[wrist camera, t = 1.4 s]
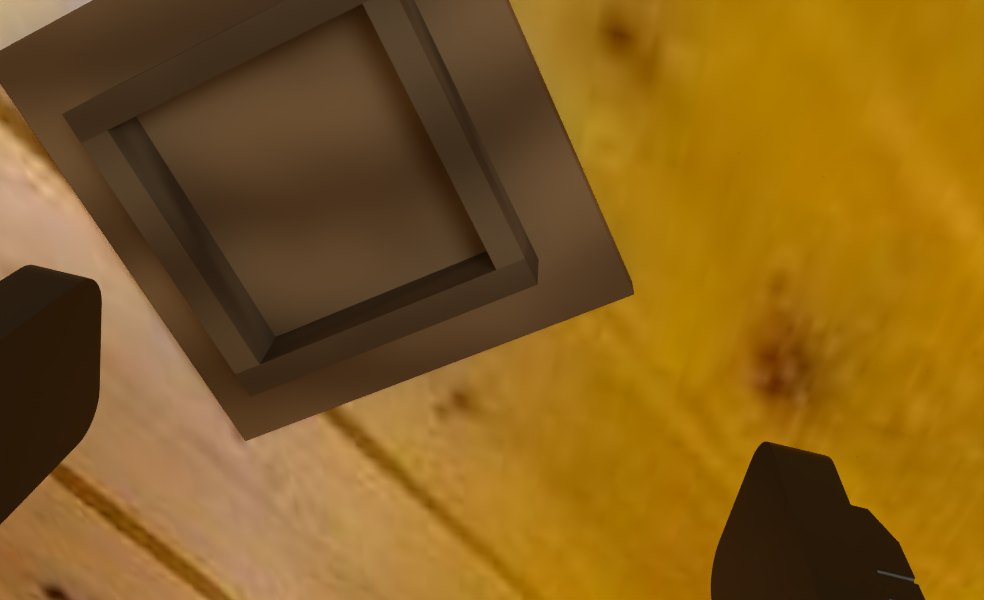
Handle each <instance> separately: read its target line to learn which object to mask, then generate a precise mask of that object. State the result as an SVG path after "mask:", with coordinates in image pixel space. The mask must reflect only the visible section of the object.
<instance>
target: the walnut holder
mask: <svg viewBox="0 0 984 600" xmlns="http://www.w3.org/2000/svg"><path fill="white" fill-rule="evenodd" d="M0 84H1V85H2V87H3V88H4V89H5V91H6V92H7V94H8V95H9V97H10V98H11V100H12V101H13V103H14V104H15V106H16V107H17V108H18V110H19V111H20V113H21V114H22V116H23V117H24V119H25V120H26V122H27V123H28V124H29V126H30V127H31V129H32V130H33V132H34V133H35V135H36V136H37V138H38V139H39V141H40V142H41V143H42V145H43V146H44V148H45V149H46V151H47V152H48V154H49V155H50V157H51V158H52V159H53V161H54V162H55V164H56V165H57V167H58V168H59V170H60V171H61V173H62V174H63V176H64V177H65V178H66V180H67V181H68V183H69V184H70V186H71V187H72V189H73V190H74V192H75V193H76V194H77V196H78V197H79V199H80V200H81V202H82V203H83V205H84V206H85V208H86V209H87V211H88V212H89V213H90V215H91V216H92V218H93V219H94V221H95V222H96V224H97V225H98V227H99V228H100V229H101V231H102V232H103V234H104V235H105V237H106V238H107V240H108V241H109V243H110V244H111V246H112V247H113V248H114V250H115V251H116V253H117V254H118V256H119V257H120V259H121V260H122V262H123V263H124V264H125V266H126V267H127V269H128V270H129V272H130V273H131V275H132V276H133V278H134V279H135V281H136V282H137V283H138V285H139V286H140V288H141V289H142V291H143V292H144V294H145V295H146V297H147V298H148V299H149V301H150V302H151V304H152V305H153V307H154V308H155V310H156V311H157V313H158V314H159V316H160V317H161V318H162V320H163V321H164V323H165V324H166V326H167V327H168V329H169V330H170V332H171V333H172V335H173V336H174V337H175V339H176V340H177V342H178V343H179V345H180V346H181V348H182V349H183V351H184V352H185V353H186V355H187V356H188V358H189V359H190V361H191V362H192V364H193V365H194V367H195V368H196V370H197V371H198V372H199V374H200V375H201V377H202V378H203V380H204V381H205V383H206V384H207V386H208V387H209V388H210V390H211V391H212V393H213V394H214V396H215V397H216V399H217V400H218V402H219V403H220V405H221V406H222V407H223V409H224V410H225V412H226V413H227V415H228V416H229V418H230V419H231V421H232V422H233V423H234V425H235V426H236V428H237V429H238V431H239V432H240V434H241V435H242V437H243V438H244V440H245V441H247V440H250V439H252V438H255V437H258V436H260V435H263V434H265V433H268V432H271V431H273V430H276V429H279V428H281V427H284V426H287V425H289V424H292V423H295V422H297V421H300V420H303V419H305V418H308V417H310V416H313V415H316V414H318V413H321V412H324V411H326V410H329V409H332V408H334V407H337V406H340V405H342V404H345V403H348V402H350V401H353V400H355V399H358V398H361V397H363V396H366V395H369V394H371V393H374V392H377V391H379V390H382V389H385V388H387V387H390V386H393V385H395V384H398V383H400V382H403V381H406V380H408V379H411V378H414V377H416V376H419V375H422V374H424V373H427V372H430V371H432V370H435V369H437V368H440V367H443V366H445V365H448V364H451V363H453V362H456V361H459V360H461V359H464V358H467V357H469V356H472V355H475V354H477V353H480V352H482V351H485V350H488V349H490V348H493V347H496V346H498V345H501V344H504V343H506V342H509V341H512V340H514V339H517V338H520V337H522V336H525V335H527V334H530V333H533V332H535V331H538V330H541V329H543V328H546V327H549V326H551V325H554V324H557V323H559V322H562V321H565V320H567V319H570V318H572V317H575V316H578V315H580V314H583V313H586V312H588V311H591V310H594V309H596V308H599V307H602V306H604V305H607V304H610V303H612V302H615V301H617V300H620V299H623V298H625V297H628V296H631V295H633V294H634V290H633V285H632V281H631V278H630V276H629V274H628V272H627V269H626V267H625V265H624V262H623V260H622V258H621V256H620V253H619V251H618V249H617V246H616V244H615V242H614V240H613V237H612V235H611V233H610V231H609V228H608V226H607V224H606V221H605V219H604V217H603V215H602V212H601V210H600V208H599V205H598V203H597V201H596V199H595V196H594V194H593V192H592V189H591V187H590V185H589V183H588V180H587V178H586V176H585V173H584V171H583V169H582V167H581V164H580V162H579V160H578V157H577V155H576V153H575V151H574V148H573V146H572V144H571V141H570V139H569V137H568V135H567V132H566V130H565V128H564V125H563V123H562V121H561V119H560V116H559V114H558V112H557V109H556V107H555V105H554V103H553V100H552V98H551V96H550V94H549V91H548V89H547V87H546V84H545V82H544V80H543V78H542V75H541V73H540V71H539V68H538V66H537V64H536V62H535V59H534V57H533V55H532V52H531V50H530V48H529V46H528V43H527V41H526V39H525V36H524V34H523V32H522V30H521V27H520V25H519V23H518V20H517V18H516V16H515V14H514V11H513V9H512V7H511V4H510V2H509V0H92V1H91V2H89V3H87V4H85V5H83V6H81V7H80V8H78V9H76V10H74V11H72V12H70V13H69V14H67V15H65V16H63V17H61V18H59V19H57V20H56V21H54V22H52V23H50V24H48V25H46V26H45V27H43V28H41V29H39V30H37V31H35V32H34V33H32V34H30V35H28V36H26V37H24V38H22V39H21V40H19V41H17V42H15V43H13V44H11V45H10V46H8V47H6V48H4V49H2V50H0Z"/></svg>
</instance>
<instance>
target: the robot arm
mask: <svg viewBox="0 0 984 600" xmlns="http://www.w3.org/2000/svg"><path fill="white" fill-rule="evenodd" d="M101 308H102V299H101V291H100V288H99V286H98V284H97V283H96V282H95V281H94V280H92V279H89V278H85V277H81V276H77V275H73V274H68V273H64V272H60V271H56V270H52V269H47V268H43V267H39V266H35V265H27V266H24V267H22V268H20V269H19V270H17V271H15V272H14V273H12V274H11V275H9V276H7V277H6V278H4V279H3V280H1V281H0V524H1V523H2V522H3V521H4V520H5V519H6V518H7V517H8V516H9V515H10V514H11V513H12V512H13V511H14V510H15V509H16V508H17V507H18V506H19V505H20V504H21V503H22V502H23V501H24V500H25V499H26V498H27V496H28V495H29V494H30V493H31V492H32V491H33V490H34V489H35V488H36V487H37V486H38V485H39V484H40V483H41V482H42V481H43V480H44V479H45V478H46V477H47V476H48V475H49V474H50V473H51V472H52V471H53V470H54V469H55V468H56V467H57V465H58V464H59V463H60V462H61V461H62V460H63V459H64V458H65V457H66V456H67V455H68V454H69V453H70V452H71V451H72V450H73V449H74V448H75V447H76V446H77V445H78V444H79V443H80V441H81V440H82V439H83V437H84V436H85V434H86V433H87V431H88V429H89V427H90V425H91V423H92V420H93V418H94V415H95V412H96V409H97V404H98V399H99V390H100V349H101ZM914 579H915V577H914V574H913V572H912V570H911V568H910V566H909V563H908V561H907V559H906V557H905V555H904V553H903V550H902V548H901V546H900V544H899V542H898V541H897V540H896V539H895V538H894V537H893V536H892V535H891V534H890V533H889V532H888V530H887V529H886V528H885V527H884V526H883V525H882V524H881V523H880V522H879V521H878V520H877V519H876V518H875V516H874V515H873V514H872V513H871V512H870V511H869V510H868V509H865V508H861V507H857V506H853V505H851V504H850V502H849V500H848V497H847V495H846V492H845V490H844V487H843V485H842V482H841V480H840V477H839V475H838V473H837V470H836V468H835V465H834V463H833V461H832V459H831V458H830V457H828V456H825V455H821V454H817V453H813V452H808V451H804V450H800V449H796V448H792V447H787V446H783V445H779V444H775V443H771V442H763V443H762V444H761V445H760V446H759V447H758V448H757V450H756V451H755V453H754V455H753V458H752V460H751V462H750V465H749V467H748V470H747V472H746V475H745V477H744V480H743V483H742V485H741V488H740V490H739V493H738V495H737V498H736V500H735V503H734V505H733V508H732V510H731V513H730V515H729V518H728V521H727V523H726V526H725V528H724V531H723V533H722V536H721V538H720V541H719V544H718V546H717V550H716V553H715V558H714V562H713V568H712V576H711V599H712V600H925V598H924V596H923V594H922V592H921V590H920V587H919V585H918V584H914Z"/></svg>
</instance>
